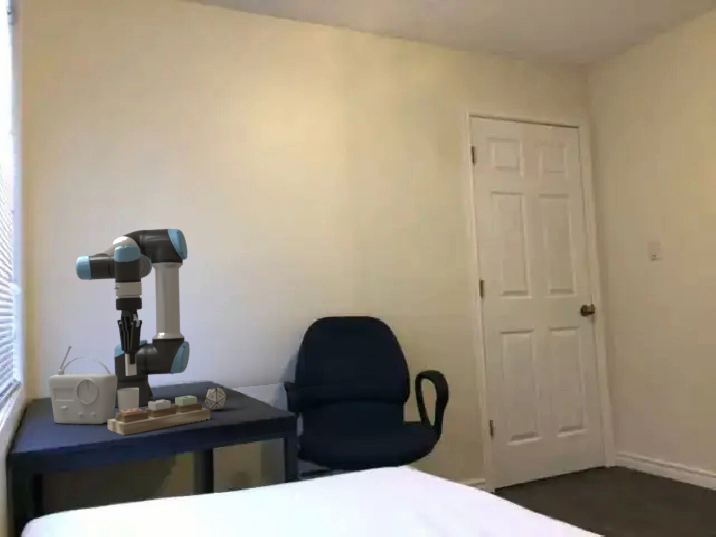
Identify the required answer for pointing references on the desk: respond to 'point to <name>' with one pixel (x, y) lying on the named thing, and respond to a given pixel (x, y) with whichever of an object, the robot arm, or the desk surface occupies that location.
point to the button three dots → (131, 411)
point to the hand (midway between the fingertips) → (131, 374)
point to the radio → (83, 396)
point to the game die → (215, 398)
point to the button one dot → (185, 400)
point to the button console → (157, 418)
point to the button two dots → (159, 404)
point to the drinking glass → (128, 398)
